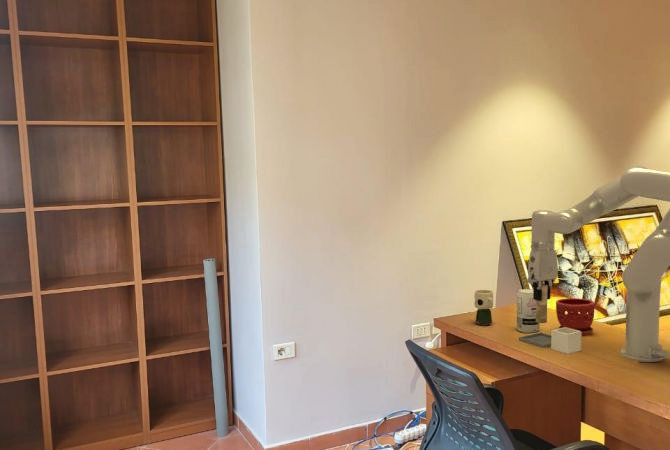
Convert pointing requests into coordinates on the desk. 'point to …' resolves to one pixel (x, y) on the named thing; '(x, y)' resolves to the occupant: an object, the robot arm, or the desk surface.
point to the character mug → (483, 306)
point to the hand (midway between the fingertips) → (541, 298)
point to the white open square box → (566, 340)
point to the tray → (537, 339)
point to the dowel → (542, 306)
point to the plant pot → (576, 314)
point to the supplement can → (526, 312)
